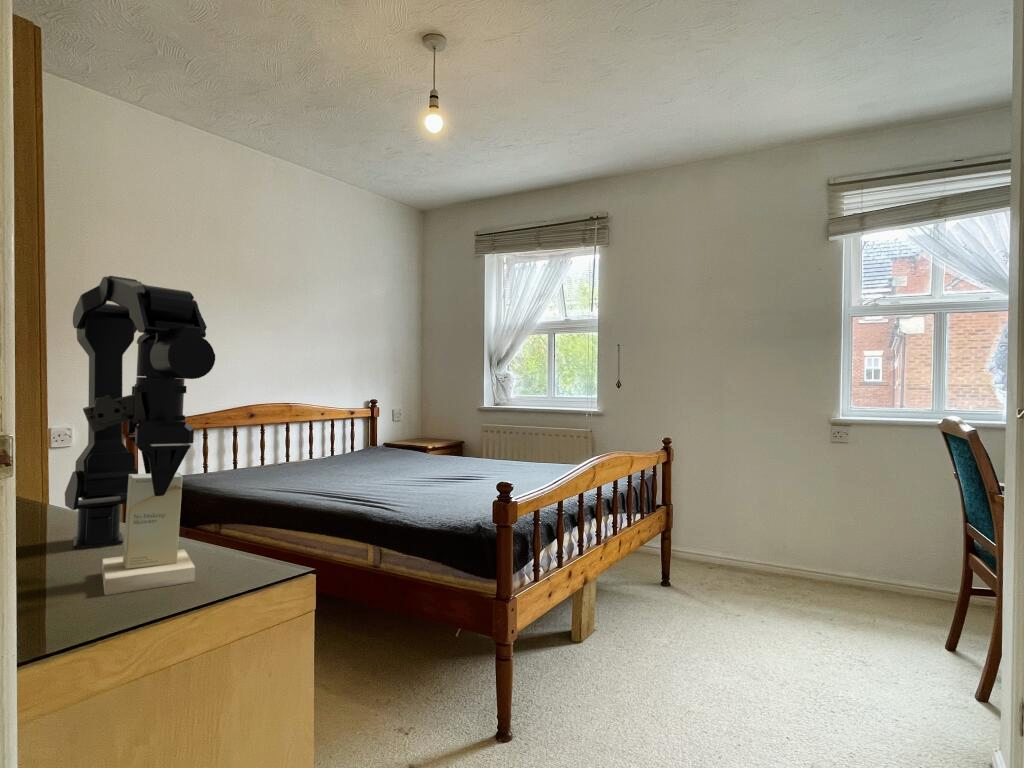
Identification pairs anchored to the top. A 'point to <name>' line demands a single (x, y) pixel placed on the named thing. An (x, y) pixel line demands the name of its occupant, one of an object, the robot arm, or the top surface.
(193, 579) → the birch plinth
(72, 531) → the top surface
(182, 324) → the robot arm
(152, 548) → the skincare box
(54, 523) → the top surface
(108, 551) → the top surface
